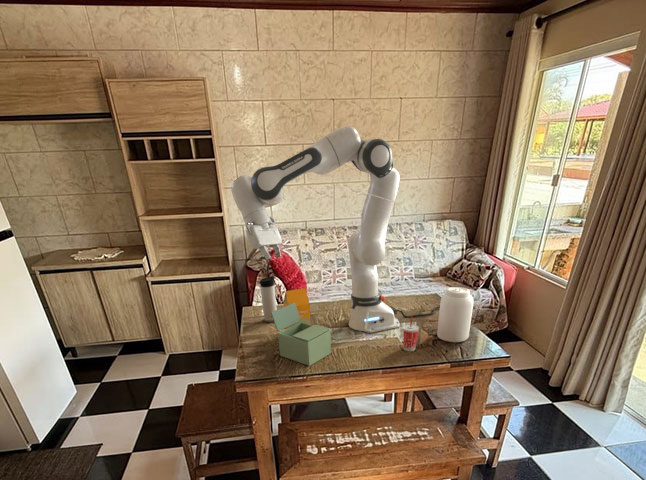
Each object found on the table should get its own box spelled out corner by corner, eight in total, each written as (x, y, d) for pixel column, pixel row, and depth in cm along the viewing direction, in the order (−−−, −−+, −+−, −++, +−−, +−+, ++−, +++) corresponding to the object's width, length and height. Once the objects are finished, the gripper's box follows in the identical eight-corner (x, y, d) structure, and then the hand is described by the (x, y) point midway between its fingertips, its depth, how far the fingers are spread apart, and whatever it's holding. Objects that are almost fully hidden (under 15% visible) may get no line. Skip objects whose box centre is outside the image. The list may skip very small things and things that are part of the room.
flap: (278, 331, 152) (277, 331, 153) (300, 320, 161) (300, 320, 161) (271, 312, 150) (270, 312, 151) (294, 302, 159) (294, 302, 159)
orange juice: (286, 333, 175) (282, 288, 166) (305, 330, 178) (302, 285, 169) (292, 340, 169) (288, 294, 159) (311, 336, 172) (309, 290, 162)
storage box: (280, 355, 157) (277, 330, 152) (302, 343, 166) (300, 320, 161) (309, 365, 149) (307, 340, 144) (331, 353, 158) (330, 328, 153)
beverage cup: (415, 345, 161) (417, 311, 154) (418, 351, 156) (421, 317, 149) (399, 345, 161) (401, 312, 154) (403, 352, 156) (405, 318, 149)
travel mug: (276, 322, 187) (271, 280, 177) (262, 322, 188) (257, 279, 178) (280, 317, 192) (276, 276, 183) (266, 317, 194) (262, 275, 184)
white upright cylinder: (444, 344, 160) (450, 295, 151) (431, 332, 171) (436, 285, 162) (473, 341, 162) (481, 292, 152) (459, 329, 173) (466, 283, 163)
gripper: (251, 218, 139) (269, 256, 142) (276, 219, 157) (291, 252, 160) (237, 226, 142) (255, 263, 144) (263, 226, 160) (278, 259, 163)
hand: (274, 258), depth 152 cm, fingers open, 8 cm apart
